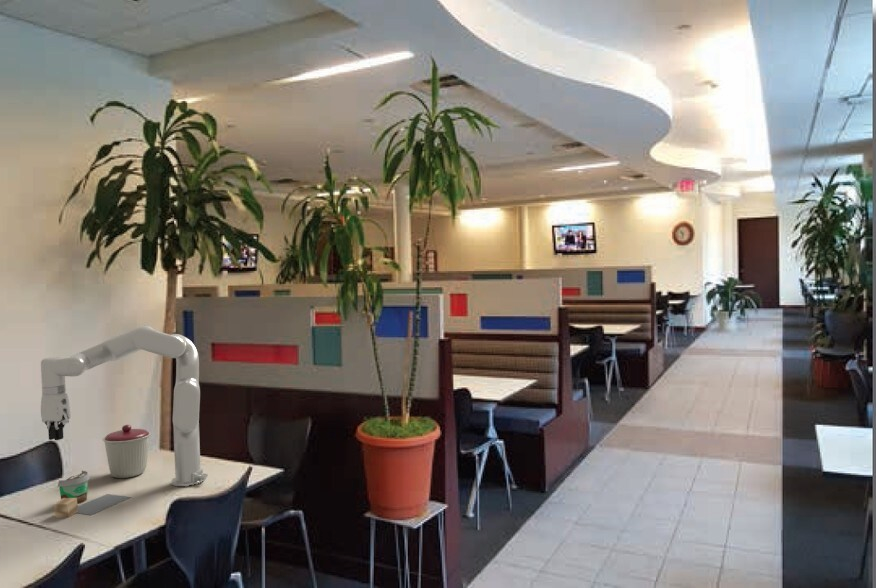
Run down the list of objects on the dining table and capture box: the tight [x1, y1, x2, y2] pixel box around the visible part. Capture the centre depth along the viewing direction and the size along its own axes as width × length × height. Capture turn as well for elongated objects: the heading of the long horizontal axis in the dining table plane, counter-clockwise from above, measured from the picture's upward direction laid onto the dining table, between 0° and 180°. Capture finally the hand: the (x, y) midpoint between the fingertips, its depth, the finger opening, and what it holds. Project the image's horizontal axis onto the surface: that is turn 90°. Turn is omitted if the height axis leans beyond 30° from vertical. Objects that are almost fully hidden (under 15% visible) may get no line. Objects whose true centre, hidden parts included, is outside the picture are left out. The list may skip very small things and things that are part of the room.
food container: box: [57, 470, 91, 505], centre depth 234 cm, size 12×6×10 cm, turn 168°
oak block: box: [53, 498, 79, 519], centre depth 221 cm, size 5×5×5 cm
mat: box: [76, 493, 133, 516], centre depth 231 cm, size 12×18×1 cm, turn 161°
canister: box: [102, 424, 152, 479], centre depth 265 cm, size 18×18×21 cm
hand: (56, 438), depth 236 cm, fingers closed
